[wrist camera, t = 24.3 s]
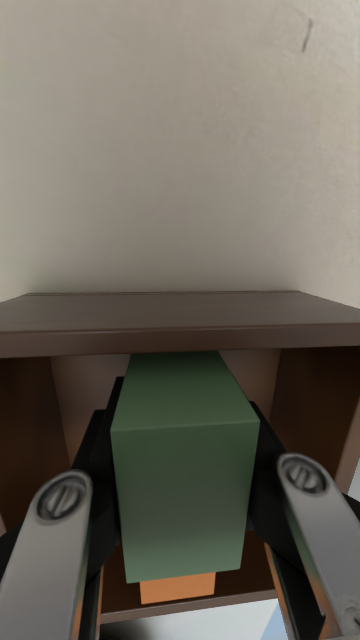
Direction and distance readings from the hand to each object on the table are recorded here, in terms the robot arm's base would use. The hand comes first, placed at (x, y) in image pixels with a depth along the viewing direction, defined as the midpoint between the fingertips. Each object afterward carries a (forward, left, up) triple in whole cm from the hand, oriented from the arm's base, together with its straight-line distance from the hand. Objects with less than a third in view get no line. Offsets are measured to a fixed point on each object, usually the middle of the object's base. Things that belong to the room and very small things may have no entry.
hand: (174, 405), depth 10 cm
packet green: (0, 0, -1) cm, 1 cm away
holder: (+3, 0, -3) cm, 4 cm away
